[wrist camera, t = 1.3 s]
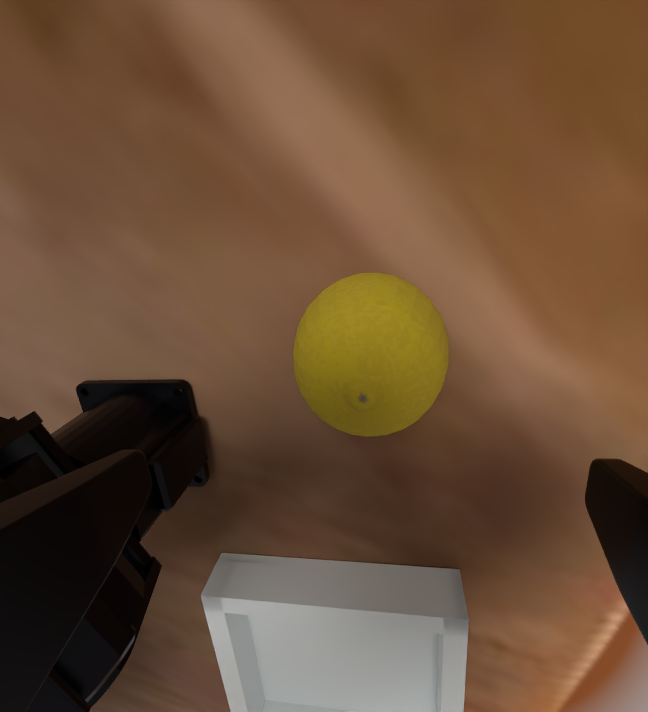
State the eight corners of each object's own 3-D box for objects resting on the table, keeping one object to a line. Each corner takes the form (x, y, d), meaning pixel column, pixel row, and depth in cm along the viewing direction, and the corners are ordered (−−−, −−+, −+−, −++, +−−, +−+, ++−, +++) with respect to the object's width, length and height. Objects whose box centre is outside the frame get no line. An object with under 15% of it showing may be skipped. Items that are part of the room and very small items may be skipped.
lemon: (454, 350, 18) (495, 451, 11) (344, 390, 20) (316, 501, 13) (409, 237, 17) (422, 265, 10) (295, 289, 19) (230, 348, 11)
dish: (254, 698, 30) (240, 748, 28) (221, 552, 25) (200, 595, 23) (452, 725, 28) (459, 783, 25) (459, 569, 23) (468, 620, 20)
